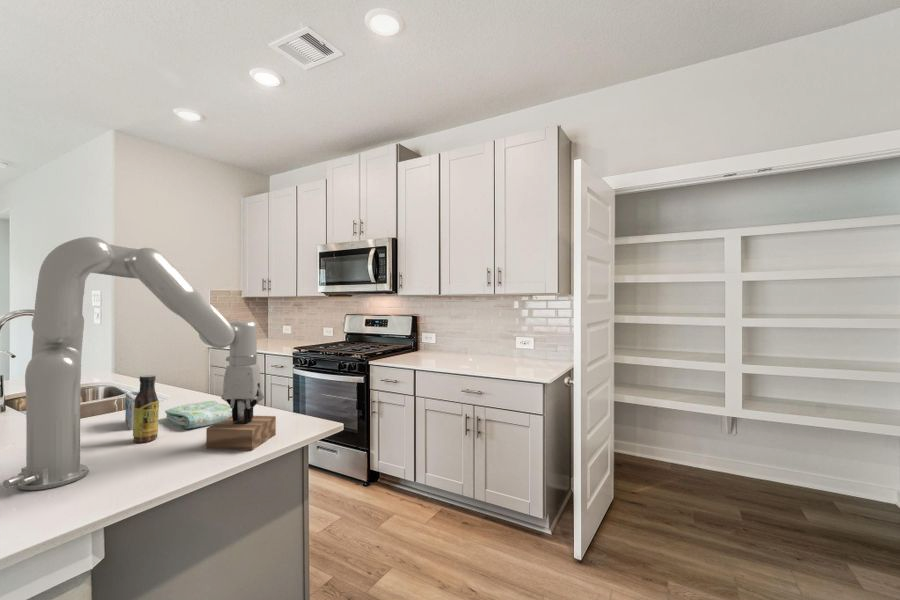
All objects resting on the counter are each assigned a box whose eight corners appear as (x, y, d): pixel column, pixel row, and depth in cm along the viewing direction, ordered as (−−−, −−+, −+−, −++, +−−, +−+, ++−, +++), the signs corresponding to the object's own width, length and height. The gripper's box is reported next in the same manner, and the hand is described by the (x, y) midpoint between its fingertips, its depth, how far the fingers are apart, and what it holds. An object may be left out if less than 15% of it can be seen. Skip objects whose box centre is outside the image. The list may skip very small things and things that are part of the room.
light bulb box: (124, 423, 146) (124, 392, 146) (148, 419, 151) (148, 389, 151) (131, 430, 138) (131, 398, 138) (155, 426, 143) (155, 394, 143)
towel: (215, 410, 165) (215, 397, 165) (242, 420, 152) (242, 406, 152) (162, 420, 150) (162, 406, 150) (187, 433, 138) (187, 417, 138)
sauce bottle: (144, 444, 126) (145, 378, 126) (127, 442, 127) (127, 377, 127) (163, 437, 132) (164, 374, 132) (147, 435, 133) (147, 373, 133)
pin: (244, 433, 128) (245, 394, 128) (234, 433, 128) (234, 394, 128) (250, 430, 131) (250, 392, 131) (240, 430, 131) (240, 391, 131)
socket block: (252, 450, 122) (252, 430, 122) (206, 448, 123) (206, 428, 123) (275, 434, 136) (275, 416, 136) (234, 433, 137) (234, 414, 137)
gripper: (209, 362, 126) (209, 423, 126) (262, 363, 125) (261, 425, 125) (225, 358, 134) (224, 416, 134) (274, 360, 132) (274, 417, 132)
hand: (242, 419), depth 129 cm, fingers closed on pin, 3 cm apart
